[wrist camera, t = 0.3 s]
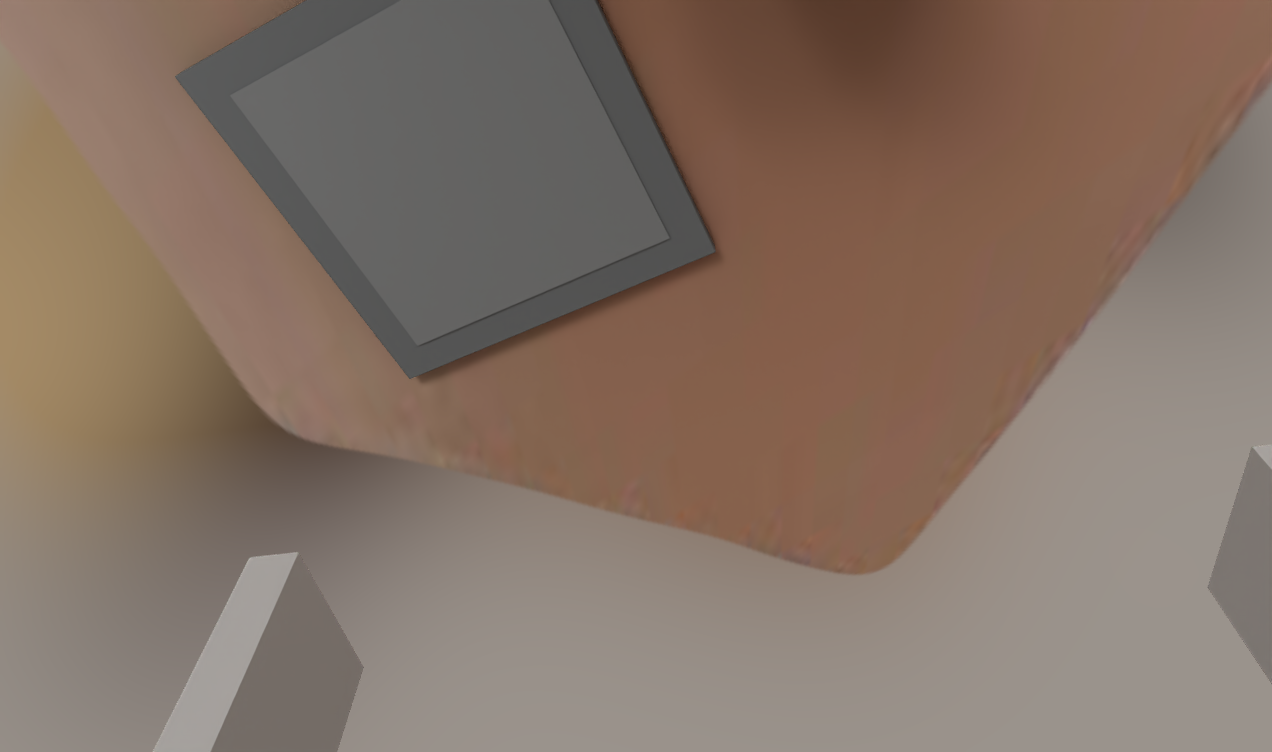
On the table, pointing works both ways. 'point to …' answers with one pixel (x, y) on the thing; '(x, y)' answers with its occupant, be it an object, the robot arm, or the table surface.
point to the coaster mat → (455, 161)
